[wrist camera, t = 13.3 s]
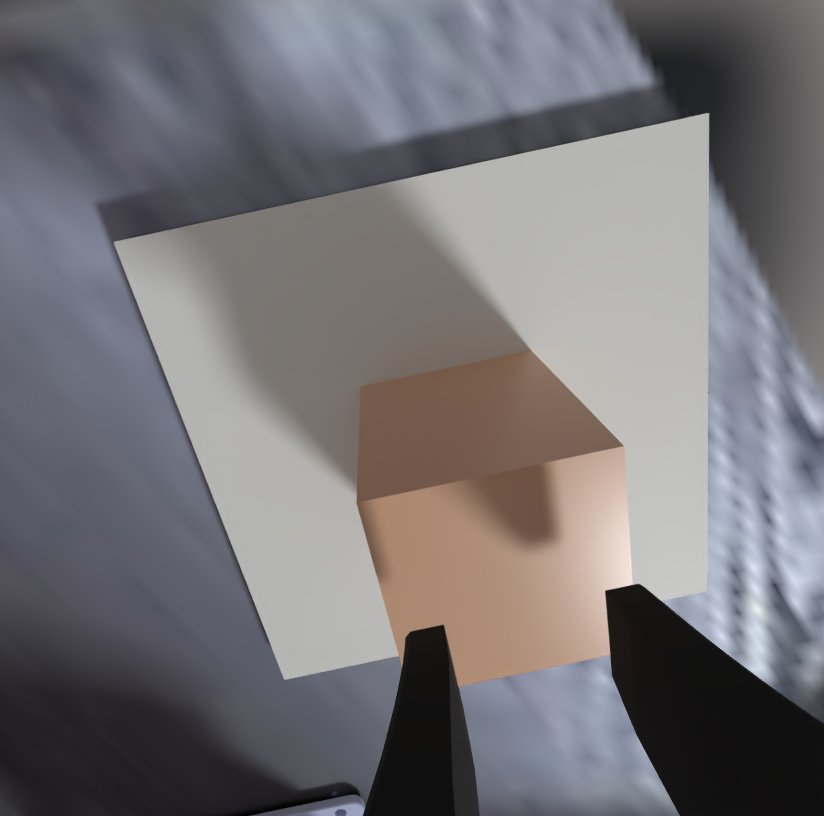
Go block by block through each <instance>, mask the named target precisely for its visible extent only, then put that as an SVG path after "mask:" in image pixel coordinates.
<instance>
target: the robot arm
mask: <svg viewBox="0 0 824 816" xmlns="http://www.w3.org/2000/svg"><path fill="white" fill-rule="evenodd" d="M605 597H606V609H607V621H608V633H609V645H610V656H611V668H612V676H613V679H614V681H615V684H616V686H617V689H618V691H619V694H620V696H621V699H622V701H623V703H624V706H625V708H626V711H627V713H628V715H629V718H630V720H631V723H632V725H633V727H634V730H635V732H636V734H637V736H638V738H639V740H640V742H641V744H642V746H643V748H644V750H645V752H646V753H647V755H648V757H649V759H650V761H651V763H652V765H653V766H654V768H655V770H656V772H657V774H658V776H659V778H660V780H661V781H662V783H663V785H664V787H665V789H666V791H667V793H668V794H669V796H670V798H671V800H672V802H673V804H674V806H675V807H676V809H677V811H678V813H679V815H680V816H824V724H823V723H822V722H820V721H819V720H818V719H816V718H815V717H813V716H812V715H810V714H809V713H807V712H806V711H804V710H803V709H802V708H800V707H799V706H797V705H796V704H794V703H793V702H791V701H790V700H789V699H787V698H786V697H784V696H783V695H782V694H780V693H779V692H777V691H776V690H775V689H773V688H772V687H770V686H769V685H768V684H766V683H765V682H763V681H762V680H761V679H759V678H758V677H757V676H755V675H754V674H753V673H752V672H750V671H749V670H748V669H746V668H745V667H744V666H742V665H741V664H740V663H738V662H737V661H736V660H734V659H733V658H732V657H730V656H729V655H728V654H726V653H725V652H724V651H722V650H721V649H720V648H719V647H717V646H716V645H715V644H713V643H712V642H711V641H710V640H708V639H707V638H706V637H705V636H703V635H702V634H701V633H700V632H698V631H697V630H696V629H695V628H693V627H692V626H691V625H690V624H688V623H687V622H686V621H685V620H684V619H682V618H681V617H680V616H679V615H677V614H676V613H675V612H674V611H673V610H671V609H670V608H669V607H668V606H667V605H665V604H664V603H663V602H662V601H661V600H660V599H658V598H657V597H656V596H655V595H654V594H652V593H651V592H650V591H649V590H648V589H646V588H645V587H644V586H642V585H641V584H634V585H629V586H625V587H620V588H615V589H610V590H606V591H605ZM251 816H480V815H479V806H478V796H477V786H476V777H475V768H474V763H473V757H472V752H471V747H470V741H469V736H468V731H467V726H466V720H465V715H464V710H463V705H462V701H461V696H460V692H459V688H458V683H457V679H456V675H455V670H454V666H453V662H452V657H451V653H450V648H449V644H448V640H447V635H446V631H445V627H444V625H439V626H434V627H429V628H425V629H420V630H415V631H410V633H409V634H408V635H407V636H406V638H405V649H404V657H403V664H402V671H401V676H400V682H399V687H398V691H397V696H396V701H395V706H394V710H393V714H392V718H391V721H390V725H389V729H388V733H387V737H386V741H385V745H384V749H383V752H382V756H381V759H380V763H379V766H378V769H377V772H376V775H375V779H374V782H373V785H372V788H371V791H370V795H369V798H368V801H367V804H366V807H365V804H364V801H363V799H362V798H361V797H359V796H358V795H347V796H342V797H337V798H333V799H328V800H323V801H318V802H313V803H309V804H304V805H299V806H294V807H289V808H285V809H280V810H275V811H270V812H265V813H261V814H256V815H251Z"/></svg>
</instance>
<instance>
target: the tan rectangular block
mask: <svg viewBox="0 0 824 816" xmlns="http://www.w3.org/2000/svg"><path fill="white" fill-rule="evenodd" d="M356 503H357V507H358V511H359V514H360V518H361V521H362V525H363V529H364V532H365V536H366V539H367V543H368V547H369V550H370V554H371V557H372V561H373V565H374V568H375V572H376V575H377V579H378V583H379V586H380V590H381V593H382V597H383V601H384V604H385V608H386V611H387V615H388V618H389V622H390V626H391V629H392V633H393V636H394V640H395V644H396V647H397V651H398V654H399V658H400V662H401V665H402V664H403V657H404V649H405V638H406V636H407V635H408V634H409V633H410V631H415V630H420V629H425V628H429V627H434V626H439V625H444V627H445V631H446V635H447V640H448V644H449V648H450V653H451V657H452V662H453V666H454V670H455V675H456V679H457V683H458V687H460V686H465V685H470V684H474V683H479V682H484V681H489V680H493V679H498V678H503V677H508V676H513V675H517V674H522V673H527V672H532V671H536V670H541V669H546V668H551V667H555V666H560V665H565V664H570V663H575V662H579V661H584V660H589V659H594V658H598V657H603V656H608V655H610V645H609V633H608V621H607V609H606V597H605V591H606V590H610V589H615V588H620V587H625V586H629V585H633V582H632V565H631V549H630V533H629V516H628V500H627V483H626V467H625V450H624V445H623V444H622V443H621V442H620V441H619V440H618V439H617V438H616V437H615V436H614V435H613V434H612V433H611V432H610V431H609V430H608V429H607V428H606V427H605V426H604V425H603V424H602V423H601V422H600V421H599V420H598V419H597V418H596V416H595V415H594V414H593V413H592V412H591V411H590V410H589V409H588V408H587V407H586V406H585V405H584V404H583V403H582V402H581V401H580V400H579V399H578V398H577V397H576V396H575V395H574V394H573V393H572V392H571V391H570V390H569V389H568V388H567V387H566V386H565V385H564V384H563V383H562V381H561V380H560V379H559V378H558V377H557V376H556V375H555V374H554V373H553V372H552V371H551V370H550V369H549V368H548V367H547V366H546V365H545V364H544V363H543V362H542V361H541V360H540V359H539V358H538V357H537V356H536V355H535V354H534V353H533V352H532V351H531V350H529V351H525V352H520V353H515V354H511V355H506V356H501V357H497V358H492V359H487V360H483V361H478V362H473V363H469V364H464V365H459V366H455V367H450V368H445V369H440V370H436V371H431V372H426V373H422V374H417V375H412V376H408V377H403V378H398V379H394V380H389V381H384V382H380V383H375V384H370V385H366V386H361V394H360V421H359V447H358V473H357V499H356Z"/></svg>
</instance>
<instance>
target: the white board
mask: <svg viewBox="0 0 824 816" xmlns="http://www.w3.org/2000/svg"><path fill="white" fill-rule="evenodd" d="M708 244H709V113H707V114H702V115H697V116H693V117H687V118H683V119H678V120H673V121H669V122H664V123H660V124H655V125H650V126H646V127H641V128H637V129H632V130H627V131H623V132H618V133H613V134H609V135H604V136H600V137H595V138H590V139H586V140H581V141H577V142H572V143H567V144H563V145H558V146H553V147H549V148H544V149H540V150H535V151H530V152H526V153H521V154H517V155H512V156H507V157H503V158H498V159H493V160H489V161H484V162H480V163H475V164H470V165H466V166H461V167H457V168H452V169H447V170H443V171H438V172H433V173H429V174H424V175H420V176H415V177H410V178H406V179H401V180H397V181H392V182H387V183H383V184H378V185H373V186H369V187H364V188H360V189H355V190H350V191H346V192H341V193H337V194H332V195H327V196H323V197H318V198H313V199H309V200H304V201H300V202H295V203H290V204H286V205H281V206H277V207H272V208H267V209H263V210H258V211H253V212H249V213H244V214H240V215H235V216H230V217H226V218H221V219H217V220H212V221H207V222H203V223H198V224H194V225H189V226H184V227H180V228H175V229H170V230H166V231H161V232H157V233H152V234H147V235H143V236H138V237H134V238H129V239H125V240H120V241H116V242H114V245H115V248H116V250H117V253H118V255H119V258H120V260H121V263H122V265H123V268H124V271H125V273H126V276H127V278H128V281H129V283H130V286H131V289H132V291H133V294H134V296H135V299H136V301H137V304H138V306H139V309H140V312H141V314H142V317H143V319H144V322H145V324H146V327H147V329H148V332H149V335H150V337H151V340H152V342H153V345H154V347H155V350H156V352H157V355H158V358H159V360H160V363H161V365H162V368H163V370H164V373H165V376H166V378H167V381H168V383H169V386H170V388H171V391H172V393H173V396H174V399H175V401H176V404H177V406H178V409H179V411H180V414H181V416H182V419H183V422H184V424H185V427H186V429H187V432H188V434H189V437H190V440H191V442H192V445H193V447H194V450H195V452H196V455H197V457H198V460H199V463H200V465H201V468H202V470H203V473H204V475H205V478H206V480H207V483H208V486H209V488H210V491H211V493H212V496H213V498H214V501H215V503H216V506H217V509H218V511H219V514H220V516H221V519H222V521H223V524H224V527H225V529H226V532H227V534H228V537H229V539H230V542H231V544H232V547H233V550H234V552H235V555H236V557H237V560H238V562H239V565H240V567H241V570H242V573H243V575H244V578H245V580H246V583H247V585H248V588H249V591H250V593H251V596H252V598H253V601H254V603H255V606H256V608H257V611H258V614H259V616H260V619H261V621H262V624H263V626H264V629H265V631H266V634H267V637H268V639H269V642H270V644H271V647H272V649H273V652H274V654H275V657H276V660H277V662H278V665H279V667H280V670H281V672H282V675H283V678H284V680H286V679H291V678H295V677H300V676H305V675H310V674H314V673H319V672H324V671H329V670H334V669H338V668H343V667H348V666H353V665H357V664H362V663H367V662H372V661H376V660H381V659H386V658H391V657H396V656H399V654H398V651H397V647H396V644H395V640H394V636H393V633H392V629H391V626H390V622H389V618H388V615H387V611H386V608H385V604H384V601H383V597H382V593H381V590H380V586H379V583H378V579H377V575H376V572H375V568H374V565H373V561H372V557H371V554H370V550H369V547H368V543H367V539H366V536H365V532H364V529H363V525H362V521H361V518H360V514H359V511H358V507H357V503H356V499H357V473H358V447H359V421H360V394H361V386H366V385H370V384H375V383H380V382H384V381H389V380H394V379H398V378H403V377H408V376H412V375H417V374H422V373H426V372H431V371H436V370H440V369H445V368H450V367H455V366H459V365H464V364H469V363H473V362H478V361H483V360H487V359H492V358H497V357H501V356H506V355H511V354H515V353H520V352H525V351H529V350H531V351H532V352H533V353H534V354H535V355H536V356H537V357H538V358H539V359H540V360H541V361H542V362H543V363H544V364H545V365H546V366H547V367H548V368H549V369H550V370H551V371H552V372H553V373H554V374H555V375H556V376H557V377H558V378H559V379H560V380H561V381H562V383H563V384H564V385H565V386H566V387H567V388H568V389H569V390H570V391H571V392H572V393H573V394H574V395H575V396H576V397H577V398H578V399H579V400H580V401H581V402H582V403H583V404H584V405H585V406H586V407H587V408H588V409H589V410H590V411H591V412H592V413H593V414H594V415H595V416H596V418H597V419H598V420H599V421H600V422H601V423H602V424H603V425H604V426H605V427H606V428H607V429H608V430H609V431H610V432H611V433H612V434H613V435H614V436H615V437H616V438H617V439H618V440H619V441H620V442H621V443H622V444H623V445H624V450H625V467H626V483H627V500H628V516H629V533H630V549H631V565H632V582H633V585H634V584H641V585H642V586H644V587H645V588H646V589H648V590H649V591H650V592H651V593H652V594H654V595H655V596H656V597H657V598H658V599H660V600H661V601H662V600H667V599H672V598H677V597H681V596H686V595H691V594H696V593H701V592H705V591H707V534H708Z"/></svg>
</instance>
